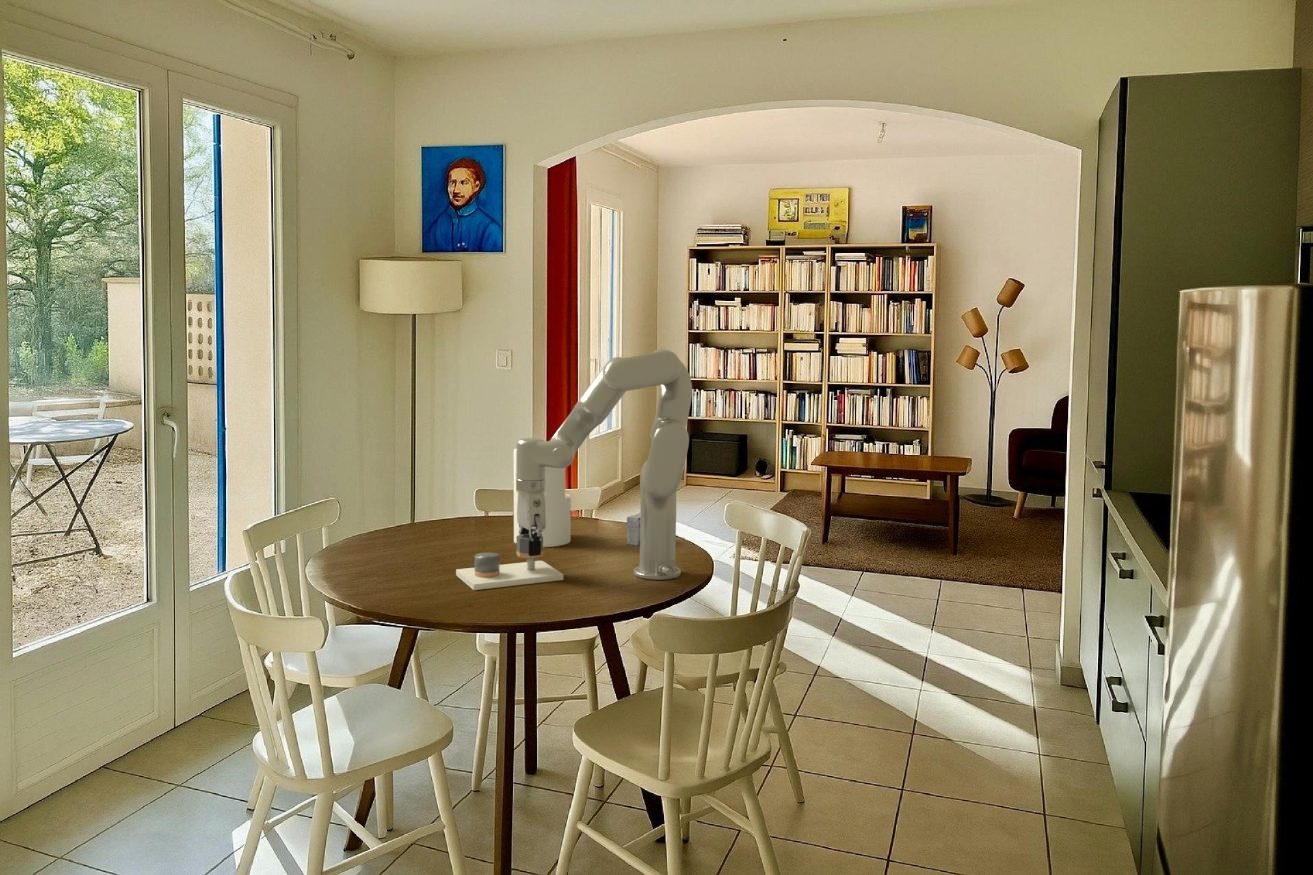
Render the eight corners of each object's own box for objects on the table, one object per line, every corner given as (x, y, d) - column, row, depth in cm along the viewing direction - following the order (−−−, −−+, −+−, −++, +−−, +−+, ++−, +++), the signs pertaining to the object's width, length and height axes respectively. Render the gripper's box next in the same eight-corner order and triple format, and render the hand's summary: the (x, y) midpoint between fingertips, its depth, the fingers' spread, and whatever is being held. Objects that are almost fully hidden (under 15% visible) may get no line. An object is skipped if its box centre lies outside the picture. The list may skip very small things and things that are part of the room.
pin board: (563, 579, 256) (563, 555, 256) (473, 590, 246) (473, 564, 245) (541, 565, 270) (541, 542, 270) (456, 574, 260) (455, 550, 259)
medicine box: (637, 546, 295) (638, 518, 294) (626, 544, 298) (626, 516, 297) (653, 542, 301) (654, 514, 300) (642, 539, 304) (642, 512, 303)
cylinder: (547, 549, 289) (547, 455, 286) (502, 542, 298) (501, 450, 295) (581, 539, 304) (582, 449, 301) (537, 532, 313) (537, 444, 310)
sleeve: (545, 556, 259) (545, 538, 258) (522, 558, 256) (522, 539, 255) (536, 551, 264) (537, 532, 264) (514, 553, 261) (514, 534, 261)
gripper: (556, 490, 252) (555, 558, 254) (532, 479, 267) (532, 544, 269) (528, 491, 248) (527, 561, 251) (506, 481, 264) (505, 546, 266)
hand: (529, 551), depth 260 cm, fingers closed on sleeve, 6 cm apart
